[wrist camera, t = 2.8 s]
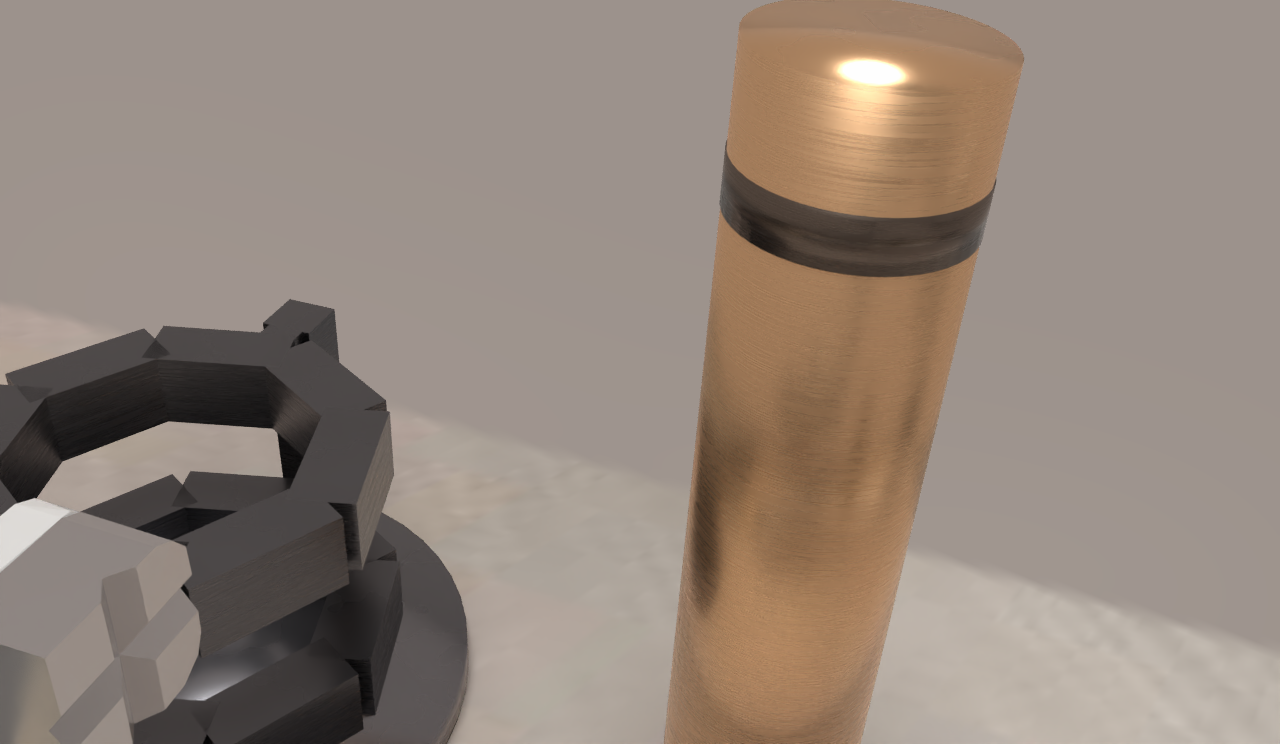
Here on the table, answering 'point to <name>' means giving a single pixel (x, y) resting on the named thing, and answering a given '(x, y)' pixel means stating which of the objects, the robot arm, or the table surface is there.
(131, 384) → the collar stand
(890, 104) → the tube
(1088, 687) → the table surface
